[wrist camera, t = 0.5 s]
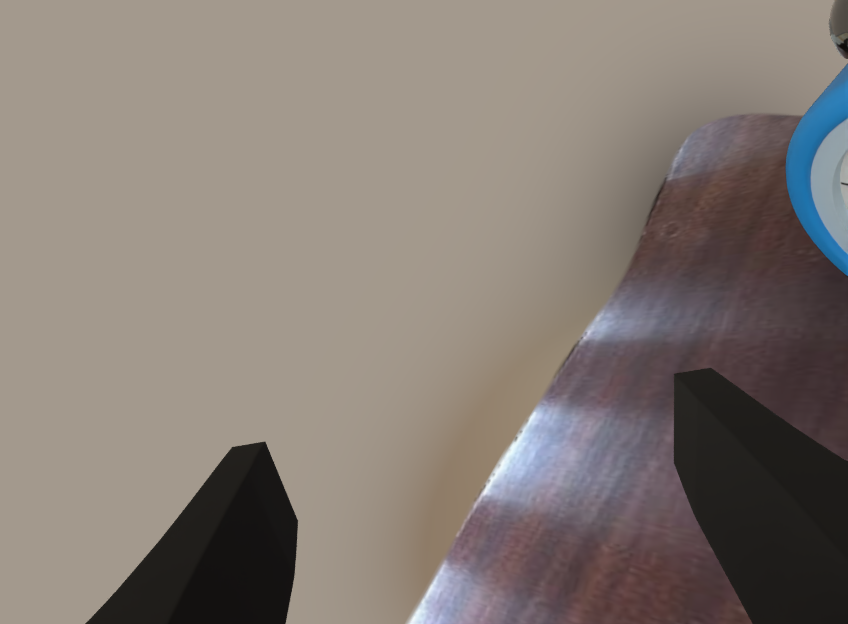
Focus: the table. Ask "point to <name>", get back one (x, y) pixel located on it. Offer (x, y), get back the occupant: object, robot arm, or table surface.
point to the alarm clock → (824, 158)
